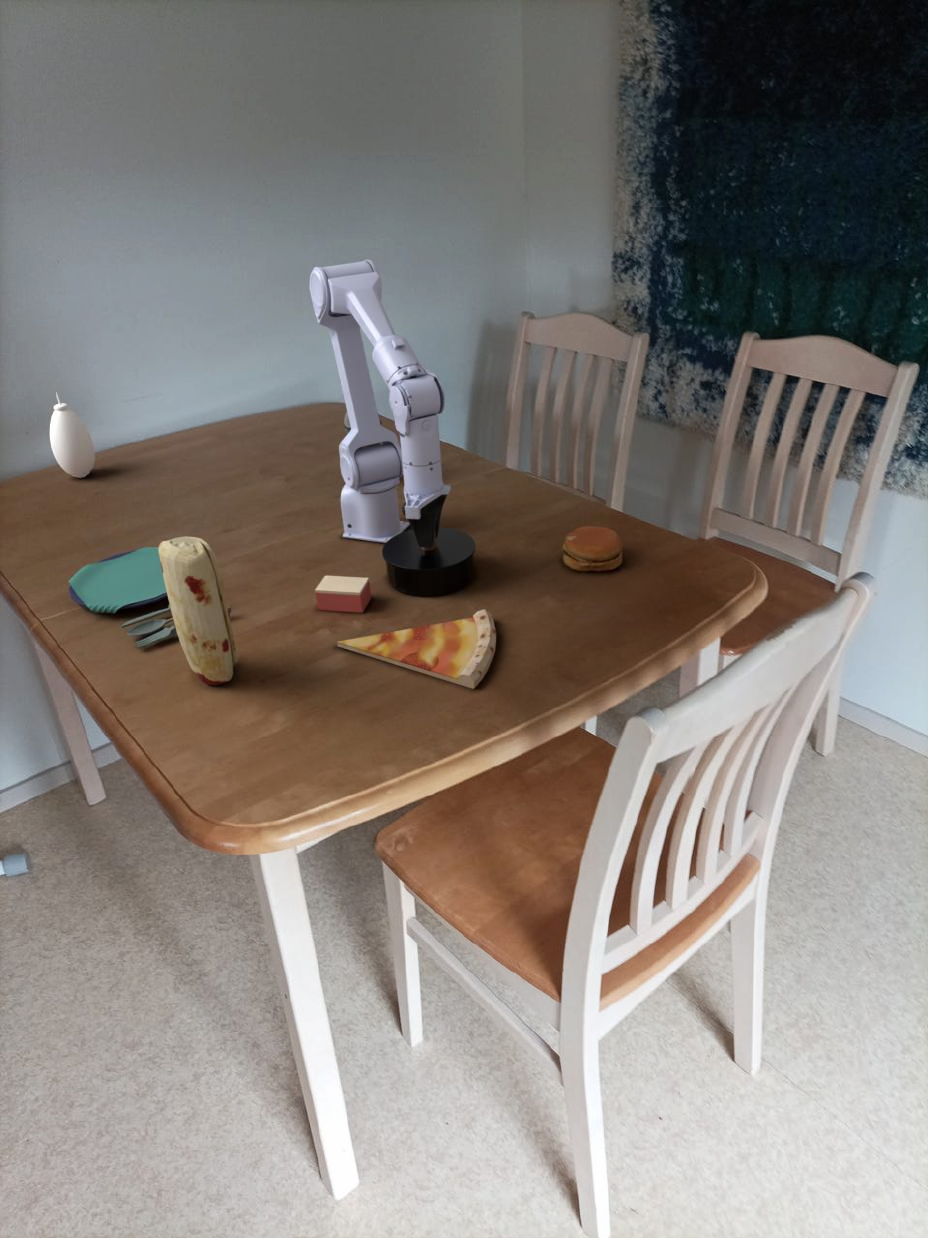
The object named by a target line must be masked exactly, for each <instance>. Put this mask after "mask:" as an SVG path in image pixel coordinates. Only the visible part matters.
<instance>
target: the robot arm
mask: <svg viewBox="0 0 928 1238" xmlns="http://www.w3.org/2000/svg"><path fill="white" fill-rule="evenodd" d="M382 283H383V282H382V277H381V274H380V271H379V268H378V266H377V265H376V264H375V263H374V262H373V261H372V260H371V259H364V260H363V261H356V262H348V263H343V264H342V263H341V264H337V265H329V266H328V265H327V266H322V267H321V266H315V267H314V268H313V269H312V271H311V273H310V277H309V293H310V298H311V301H312V306H313V310H314V314H315V317H316V320H317V324H319V325H321V326H322V327H326V328H327V330H328V334H329V337H330V341H331V345H332V349H333V354H334V358H335V363H336V368H337V372H338V377H339V380H340V385H341V386H340V387H341V389H342V390H341V391H342V394H343V399H344V404H345V407H346V412H348V417H349V421H350V426H351V430H350V432H349V433H348V434H347V433H346V436H344V438H343V439H342V440H341V442H340V444H339V445H338V453H339V459H340V460H339V467H340V468H339V469H340V472H341V473H340V474H341V476H342V479H343V480H344V483H345V484H344V486H342V489H341V492H340V509H341V516H342V523H343V524H342V525H343V533H342V537H343V538H345V539H353V540H354V539H355V540H361V541H367V542H374V543H383V544H385V543H386V542H387V541H388V540H389V539H391V538H392V537H394V536H396V535H398V534H400V533H403V532H405V531H406V530H407V528H409V526H410V527H411V528H412V529H411V530H413V531H414V534H415V537H416V540H417V542H418V545H419V547H429V548H431V547H432V546H433V543H434V534H435V535H436V538H437V536H438V531H439V527H440V525H441V524H440V523H441V517H442V511H443V507H444V505H445V501H446V499H447V497H448V495H449V494H450V492H451V490H452V487H451V486H452V485H449V484H444V481H443V470H442V454H441V439H440V423H439V415H441V414H442V413H443V411H444V409H445V406H446V405H445V404H446V397H445V392H444V388H443V385H442V383H441V381H440V378H439V377H438V376H437V374H435V373H433V372H430V370H429V369H428V368H423V366H422V364H421V362H420V360H419V358H418V357H417V355H416V354H415V351H414V350H413V349H412V347H411V345H410V343H409V342H408V339H406V338H405V337H404V336H402V335H396V333H395V331H394V328H393V326H392V324H391V321H390V319H389V316H388V314H387V312H386V309H385V308H384V305H383V303H382V293H383V292H382V287H383V284H382ZM361 330H362V331H363V333H364V334H365V336H366V337H367V339H368V340H369V342H370V343H371V345H372V346H373V350H372V355H371V359H372V361H373V363H374V365H375V367H376V369H377V370H378V372H379V374H380V376H381V378H382V379H383V382H384V383H385V385H386V387H387V389H388V390H389V396H388V400H389V406H390V410H391V412H392V414H393V418H394V427H395V429H396V431H397V432H398V433H399V439H400V440H399V439H398V436H397V434H396V433H395V432H394V431H392V430H390V429H388V428H387V427H384V426H383V425H382V424H381V425H380V421H379V416H380V415H379V416H378V414H379V412H378V407H377V402H376V398H375V393H374V390H373V384H372V380H371V375H370V370H369V366H368V361H367V355H366V351H365V347H364V342H363V336H362V333H361ZM399 441H400V442H399ZM376 443H380V445H376V446H372V447H368V448H364V449H359V450H357V449H358V448H360V447H363V446H367V445H371V444H376ZM402 477H403V483H404V486H403V496H404V500H405V502H404V503H403V505H402V506H401V512H402V515H403V516H404V517H405V519H406V520H407V521H403V520H400V519H401V518H400V509H399V499H398V489H397V485H400V483H401V482H400V481H401V479H400V478H402Z"/></svg>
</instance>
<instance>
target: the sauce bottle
mask: <svg viewBox="0 0 928 1238" xmlns="http://www.w3.org/2000/svg"><path fill="white" fill-rule="evenodd" d="M55 396H56V399H57V404H55V405H53V413H52V415H51V418H50V424H49V442H50V447H51V450H52V453H53V456H54V458H55V460H56V462H57V464H58V465H59V467H60V468H61V469H62V470H63V471H64V472H65V473H66V474H68V475H71V476H72V477H74V478H78V479H82V478H85V477H86V476H87V475H89V474H90V472H91V471H92V470H93V469H94V466H95V462H96V450H95V444H94V441H93V439H92V437H91V434H90V432H89V430H88V429H87V427H86V425H85V424H84V422H83V421H82V420H81V419H80V417H79V416H78V415H77V414H76V412H75V411H74V410H72V409H71V408H69V405H68V404H67V403H66V402H65V403H63V402H61V397H60V395H59V394H58V392H57V391H56V392H55ZM84 473H85V474H84ZM73 474H74V475H73Z"/></svg>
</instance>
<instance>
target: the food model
mask: <svg viewBox="0 0 928 1238" xmlns="http://www.w3.org/2000/svg"><path fill="white" fill-rule="evenodd" d="M158 547H159V548H158V551H159V557H160V563H161V568H162V572H163V577H164V582H165V587H166V591H167V595H168V597H167V599H168V603H169V605H170V607H171V611H172V613H171V616H172V617H173V623H174V627H176V631H177V634H176V635H177V637H178V640H179V643H180V646H181V648H182V651H183V653H184V655H185V658H186V660H187V663H188V666H189V667H190V669H191V671H192V672H193V673H194V675H195V676H196V677H197V678H198V679H199V680H200V681H202V682H203V683H204V684H207V685H210V686H220V685H222V684H225V683H228V682H230V681H231V680H232V677H233V676H234V675H233V674H234V667H235V666H236V664H237V663H238V660H239V659H238V651H237V644H236V639H235V634H234V629H233V623H232V619H231V613H229V608H228V606H229V603H228V599H227V595H226V592H225V587H224V582H223V579H222V573H221V568H220V565H219V562H218V559H217V556H216V554H215V552H214V550H213V548H211V546H210V544H209V543H208V542H206V540H204V539H202V538H201V537H196V536H186V535H185V536H179V537H173V538H171V539H168V540H162V541H161V542H160V543H159V545H158Z"/></svg>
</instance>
